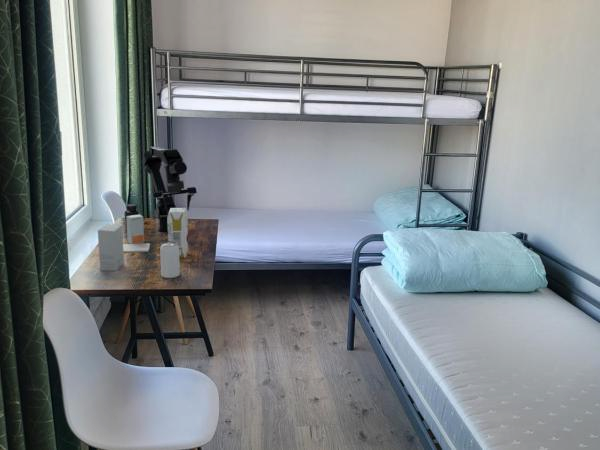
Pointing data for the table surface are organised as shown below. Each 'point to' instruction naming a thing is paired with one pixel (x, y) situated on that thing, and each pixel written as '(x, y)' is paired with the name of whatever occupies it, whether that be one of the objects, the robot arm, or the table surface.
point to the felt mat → (136, 247)
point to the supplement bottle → (130, 212)
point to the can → (170, 259)
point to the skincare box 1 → (111, 247)
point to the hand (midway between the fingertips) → (177, 211)
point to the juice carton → (178, 229)
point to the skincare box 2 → (135, 229)
